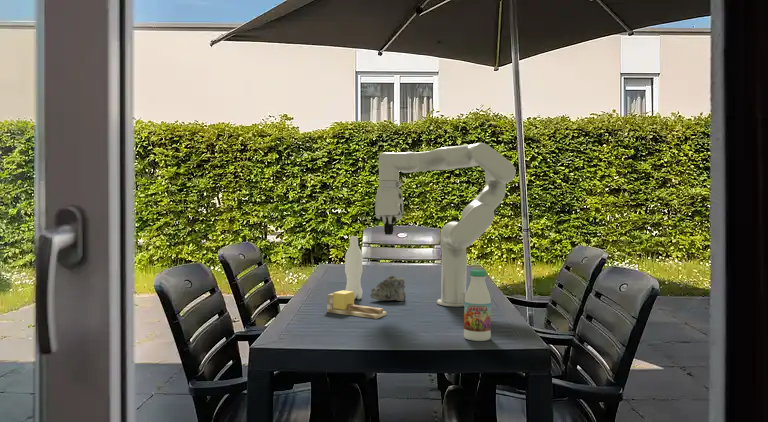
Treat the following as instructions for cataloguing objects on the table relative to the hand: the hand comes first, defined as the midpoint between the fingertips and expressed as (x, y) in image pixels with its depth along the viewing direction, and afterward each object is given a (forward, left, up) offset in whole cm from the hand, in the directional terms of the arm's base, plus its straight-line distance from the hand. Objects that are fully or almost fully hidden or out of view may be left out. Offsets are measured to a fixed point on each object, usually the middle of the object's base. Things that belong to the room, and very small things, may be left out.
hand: (388, 234), depth 210 cm
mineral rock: (+5, -9, -27) cm, 29 cm away
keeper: (+8, +19, -25) cm, 32 cm away
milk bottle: (-46, +29, -27) cm, 61 cm away
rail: (+2, +19, -27) cm, 33 cm away
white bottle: (+18, -4, -27) cm, 33 cm away
